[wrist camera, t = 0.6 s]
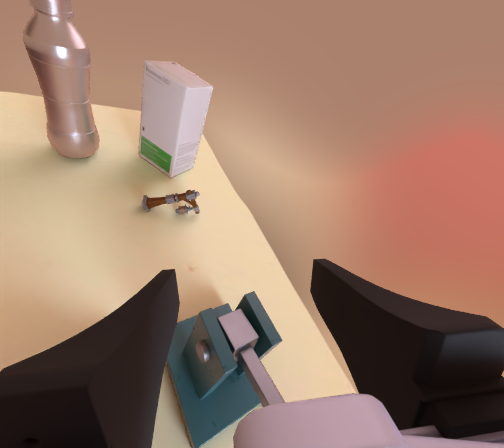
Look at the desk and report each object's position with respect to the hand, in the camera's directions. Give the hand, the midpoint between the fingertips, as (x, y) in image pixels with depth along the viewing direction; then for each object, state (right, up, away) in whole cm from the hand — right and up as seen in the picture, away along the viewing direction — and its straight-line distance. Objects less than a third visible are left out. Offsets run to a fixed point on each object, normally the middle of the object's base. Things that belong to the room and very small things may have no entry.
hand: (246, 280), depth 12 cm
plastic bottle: (-28, +15, +27) cm, 41 cm away
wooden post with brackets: (-12, +5, +25) cm, 28 cm away
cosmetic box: (-16, +15, +33) cm, 39 cm away
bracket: (-4, -11, +12) cm, 17 cm away
